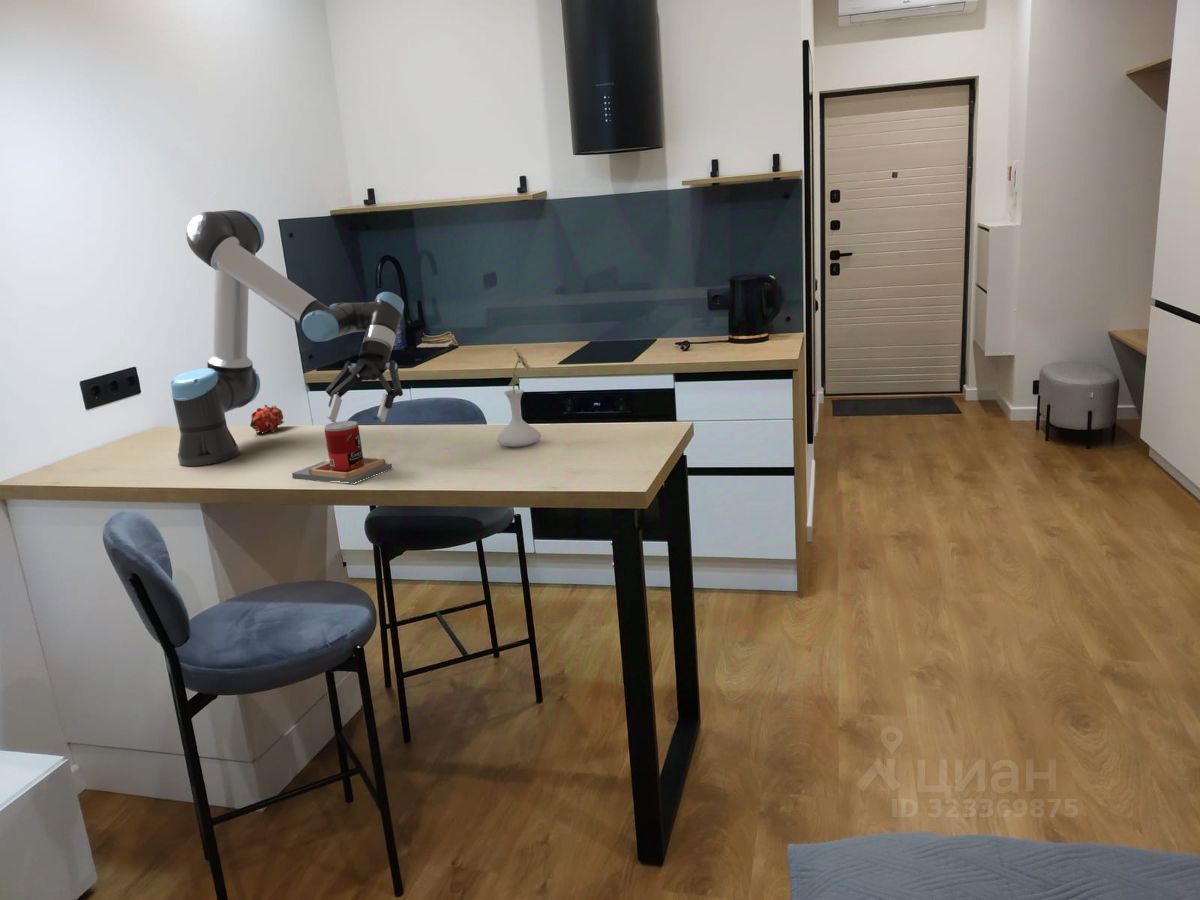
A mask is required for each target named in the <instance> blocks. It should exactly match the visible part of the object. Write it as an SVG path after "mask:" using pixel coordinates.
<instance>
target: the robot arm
mask: <svg viewBox="0 0 1200 900" xmlns="http://www.w3.org/2000/svg"><path fill="white" fill-rule="evenodd" d="M186 241H187V245H188V246H189V248H190V250H191V252H193V254H194V255H195V256H196V257H197V258H198V259H200V260H201V261H202V262H204V264H205V265H208V266H209V267H210V268H212V269H213V270H214V279H213V282H214V283H213V284H214V285H213V286H214V287H213V291H214V293H213V354H212V355H211V356H210V357H209V358H207V366H206V367H207V368H196V369H192V370H190V371H186V372H182V373H181V374H178V375H176V376H175V377H174V378H172V380H171V382H170V387H171V398H172V401H173V405H174V410H175V413H176V414H175V415H176V418H177V423H178V428H179V433H180V436H179V438H180V439H179V444H178V445H179V446H178V453H177V458H178V464H179V465H180V466H185V467H199V466H205V465H206V466H208V465H212V463H213V464H218V463H221V462H225V461H229V460H231V459H233V458H236V457H238V456H239V455H240V451H239V445H238V444H237V442H236V440H235V439H234V436H233V435H232V433H231V432H230V429H229V427H228V425H227V421H226V414H225V413H228V412H230V411H232V410H235V409H239V408H240V409H241V408H243V407H245V406H246V405H248V404H251V402H252V401H254V400H255V399H256V398H257V396H258V394H259V392H260V389H261V379H260V375H259V373H257V370H256V369H255V368H254V367H253V362H254V361H253V360H251V359H250V358H249V356H248V325H249V323H248V321H249V320H248V319H249V290H251V291H252V292H253V293H255V294H256V295H258V296H259V297H260V298H262V299H264V301H267V303H269V304H270V305H271V306H274V307H275V308H276V309H278V310H279V311H280V312H282V313H283V314H285V315H286V316H288V317H289V318H291V319H292V320H293V321H295V322H296V323H298V324H299V325H301V327H302V331H303V333H304V335H305V336H306V338H308V339H309V340H310V341H312V342H317V343H319V342H320V343H321V342H327V341H331V340H333V339H335V338H337V337H338V338H339V337H342V336H345V335H348V334H352V333H358V332H365V333H364V337H363V340H362V344H361V346H360V350H359V353H358V360H357V362H356V363H354V362H353V363H352V362H351V361H349V360H348V361H347V360H346V362H345V363H344V365H343V368H342V369H341V370H340V372H339V373H338V374H337V375H336V376H335V378H334V379H333V380H332V381H331V382H330V384H329V385H328V387H326V388H325V393H326V394H327V395H328V396H329V397H330V399H329V402H328V407H329V410H328V412H327V413H328V414H327V418H328V419H329V421H331V422H332V423H335V422H336V421H337V418H338V415H339V412H340V407H341V404H342V401H343V400H342V397H343V396H344V395H346V393H348V392H349V391H350V390H351V389H353V387H355V386H356V385H357V384H359V383H361V382H363V381H370V380H371V381H376V380H377V379H378V380H379V382H380V384H381V385H382V387H383V388H384V390H385V392H386V393H383V394H382V398H381V401H380V405H379V409H378V412H377V418H378V419H379V420H380V422H381V423H385V422H386V419H387V416H388V412H389V409H392V407H393V404H394V401H395V400H394V399H395V398H396V397H398V396H399V397H402V396H403V395H404V392H403V388H402V383H401V381H400V376H399V365H398V363H397V362H396V361H395V360H394V359H391V354H392V350H393V347H394V345H395V341H396V337H397V333H398V330H399V327H400V325H401V320H402V319H403V314H404V309H405V303H404V301H403V299H402V297H400V295H397V294H395V292H390V291H383V292H380V293H379V294H377V295H376V298H375V299H374V301H368V302H344V301H342V302H337V303H332V304H330V305H329V306H327V305H326V304H324V303H323V302H321V301H320V300H318V299H317V298H315V297H314V296H313V295H312V294H310V293H308V292H307V291H306V290H304V289H303V288H301V287H300V286H298V285H297V284H296V283H294V282H293V281H291V280H290V279H289V278H288V277H286V276H284V275H283V274H282V273H280V272H278V271H277V270H275V269H274V268H272V267H271V266H270V265H268V264H267V263H265V262H264V261H263V260H261V259H260V258H259V257H257V256H256V253H258V252H259V251H260V249H262V248H263V246H264V244H265V232H264V229H263V226H262V224H261V223H260V222H259V220H258V219H257V217H255V216H254V215H253V214H251V213H250V212H247V211H244V210H237V209H228V210H218V211H216V210H215V211H205V212H204V211H203V212H201V213H199V214H197V215H195V216H194V217H193V218H191V220H190V221H189V223H188V225H187V227H186ZM390 359H391V360H390ZM387 370H388V371H389V374H390V379H391V382H392V386H393V389H392V387H391V385H390V383H389V382H388V381H387V379H386V377H385V375H384V374H385V372H386V371H387ZM357 375H358V376H357ZM207 464H208V465H207Z"/></svg>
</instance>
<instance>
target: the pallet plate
mask: <svg viewBox="0 0 1200 900" xmlns="http://www.w3.org/2000/svg"><path fill="white" fill-rule="evenodd" d="M363 460H364V466H363V467H360V468H358V469H355V470H353V471H350V472H348V473H347V472H337V471H332V469H331V467H330V461H329V458H327V459H324V460H322V461H321V462H318V463H316V464H312V465H310V466H307V467H305V468H302V469H299V470H297V471H294V472H292V473H291V474H292V475H291V476H292V478H293V479H299V480H307V479H309V481H317V480H324V481H323V482H326V481H340V482H349V483H355V482H358V481H360V480H363V479H366V478H368V477H371V476H373V475H375V476H377V475H376V474H378V475H380V474H382V473H381V472H383V473H385V472H387V471H389V470H388V469H390V470H391V468H392V469H393V466H392V463H387V462H386V458H382V457H380V458H379V457H370V456H363ZM386 470H387V471H386ZM384 471H385V472H384ZM379 473H380V474H379ZM373 477H374V476H373ZM371 478H372V477H371ZM368 479H369V478H368ZM366 480H367V479H366Z"/></svg>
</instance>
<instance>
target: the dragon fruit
mask: <svg viewBox="0 0 1200 900" xmlns="http://www.w3.org/2000/svg"><path fill="white" fill-rule="evenodd" d="M250 418H251V421H250V425H249V426H250V427H252V429H253V430H255V432H256V435H258V433H260V434H263V433H262V432H265V433H267V432H269V431H270V432H271V433H274V432H275V431H276V430H278V426H281V425H283V423H285V421H284V415H283V411H282V409H280V408H279V407H277V405H272V406H271V407H270V406H268V405H267V404H265V405H264V407H263V408H261V407H258V408H257V409H256V411H253V412H252V413H251V416H250ZM273 431H274V432H273Z"/></svg>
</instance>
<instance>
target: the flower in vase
mask: <svg viewBox="0 0 1200 900" xmlns="http://www.w3.org/2000/svg"><path fill="white" fill-rule="evenodd" d="M512 349H513V352H514V353H515V356H516V357H517V362H516V363H515V367H514V369H513V372H512V379H511V380H510V382H509V384H508V386H510V387H512V389H511V390H510V389H509V390H505V391H504V392H503V394H504V395H505V396H506V397H507V399H508V401H509V404H510V408H511V409H510V410H511V421H510V422H509V423H508V424H507V426H506V427H504V428H503V430H501V431H500V432H499V434H497V437H496V442H497V443H498V444H499V445H500V446H504V447H508V448H509V447H510V448H513V447H514V448H515V447H516V448H517V447H525V446H529V445H532V444H535V443H536V442H538V441H540V439H541V438H542V435H541V433H540V432H539V431H538V430H537V429H536V428H535V427H534V426H533V425H530V424H529V423H528V422H526V421H525V420H524V419H523V418H522V414H521V399H522V395H523V394H524V389H515V386H516V385H518V384H520V383H521V382H520V381H521V380H520V379H519V377H518V376H517V375H516V374H515V373H516V369H517V367H518V364H519V363H521V365H522V366H523V368H524V369H525V370H526V371H527V372H528V373H529V372H532V367H531V366H530V365H529V363H528V360H527V358H526V357H524V356H523V353H522V351H521V350H518V347H517V345H512Z"/></svg>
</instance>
